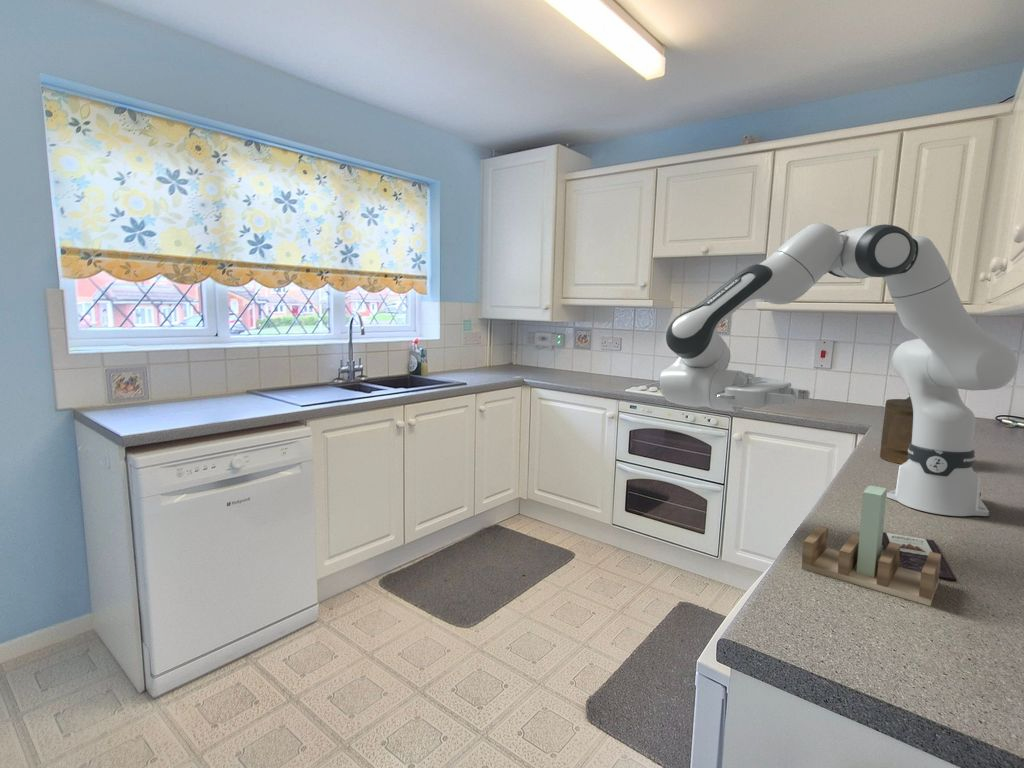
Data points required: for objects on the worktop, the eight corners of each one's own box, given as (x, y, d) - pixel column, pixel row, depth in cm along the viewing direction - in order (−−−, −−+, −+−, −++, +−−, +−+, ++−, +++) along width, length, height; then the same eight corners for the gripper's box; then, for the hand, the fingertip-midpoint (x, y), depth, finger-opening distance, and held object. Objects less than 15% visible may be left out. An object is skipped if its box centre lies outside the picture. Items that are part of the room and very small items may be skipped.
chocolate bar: (890, 567, 94) (878, 531, 110) (890, 572, 94) (878, 535, 110) (956, 579, 90) (933, 540, 105) (955, 584, 90) (933, 544, 106)
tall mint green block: (862, 562, 95) (869, 485, 93) (879, 567, 93) (886, 488, 91) (856, 572, 91) (863, 492, 89) (874, 577, 89) (881, 495, 88)
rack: (817, 550, 102) (819, 525, 101) (938, 582, 89) (941, 554, 89) (801, 568, 95) (803, 541, 94) (930, 606, 82) (933, 574, 82)
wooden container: (951, 468, 158) (958, 393, 155) (895, 465, 160) (902, 392, 158) (921, 455, 173) (927, 387, 170) (870, 453, 175) (876, 386, 172)
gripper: (711, 380, 108) (785, 386, 99) (749, 372, 123) (817, 377, 114) (710, 411, 109) (783, 420, 100) (748, 400, 124) (815, 407, 114)
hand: (801, 397), depth 107 cm, fingers open, 8 cm apart
